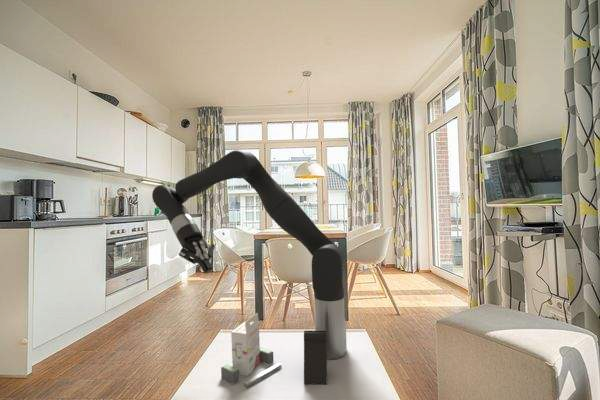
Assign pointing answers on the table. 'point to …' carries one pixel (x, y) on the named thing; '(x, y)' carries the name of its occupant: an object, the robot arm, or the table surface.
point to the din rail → (262, 375)
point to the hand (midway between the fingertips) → (209, 270)
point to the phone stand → (315, 357)
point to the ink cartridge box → (246, 346)
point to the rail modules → (232, 373)
